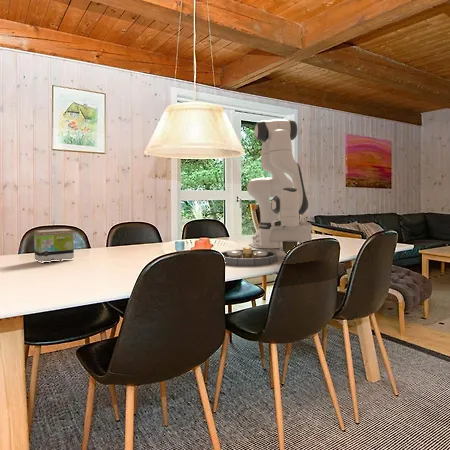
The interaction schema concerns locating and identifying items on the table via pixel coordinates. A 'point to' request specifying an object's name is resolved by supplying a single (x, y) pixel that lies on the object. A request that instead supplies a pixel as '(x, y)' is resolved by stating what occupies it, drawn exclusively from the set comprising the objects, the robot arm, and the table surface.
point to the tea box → (53, 244)
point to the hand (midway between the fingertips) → (289, 251)
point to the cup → (288, 246)
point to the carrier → (249, 257)
